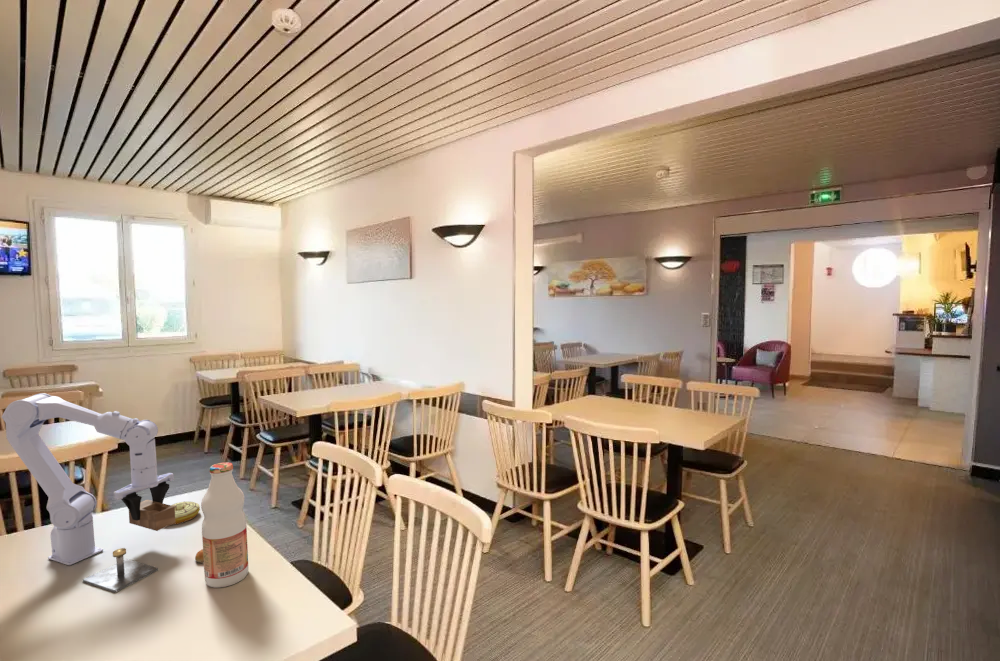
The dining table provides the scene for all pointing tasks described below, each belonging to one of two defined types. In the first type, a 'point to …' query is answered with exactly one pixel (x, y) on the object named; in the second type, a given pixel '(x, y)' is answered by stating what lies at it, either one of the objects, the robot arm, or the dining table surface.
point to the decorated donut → (185, 511)
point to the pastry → (199, 556)
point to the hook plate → (120, 573)
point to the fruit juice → (224, 529)
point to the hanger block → (154, 515)
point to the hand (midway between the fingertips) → (146, 515)
